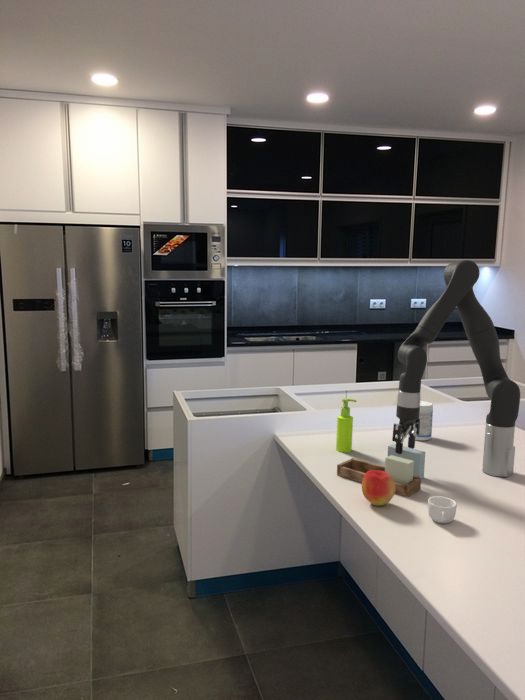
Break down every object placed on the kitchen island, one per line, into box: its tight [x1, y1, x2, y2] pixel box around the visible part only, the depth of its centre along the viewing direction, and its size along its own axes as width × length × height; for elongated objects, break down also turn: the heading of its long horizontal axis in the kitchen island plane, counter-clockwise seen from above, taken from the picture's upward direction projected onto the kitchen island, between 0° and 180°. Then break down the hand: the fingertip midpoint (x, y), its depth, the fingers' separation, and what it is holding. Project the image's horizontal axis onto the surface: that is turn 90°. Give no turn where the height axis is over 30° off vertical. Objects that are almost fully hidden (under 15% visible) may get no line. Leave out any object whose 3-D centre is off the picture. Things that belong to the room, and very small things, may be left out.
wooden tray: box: [336, 457, 422, 498], centre depth 185 cm, size 26×8×4 cm, turn 48°
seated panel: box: [384, 455, 414, 485], centre depth 180 cm, size 8×4×9 cm, turn 48°
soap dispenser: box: [335, 398, 357, 453], centre depth 216 cm, size 6×7×20 cm
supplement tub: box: [407, 400, 434, 442], centre depth 234 cm, size 10×10×15 cm
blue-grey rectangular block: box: [387, 443, 426, 480], centre depth 193 cm, size 12×4×9 cm, turn 48°
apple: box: [361, 470, 396, 507], centre depth 168 cm, size 10×10×10 cm
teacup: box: [427, 495, 457, 524], centre depth 157 cm, size 10×8×5 cm
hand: (405, 450), depth 192 cm, fingers open, 8 cm apart
